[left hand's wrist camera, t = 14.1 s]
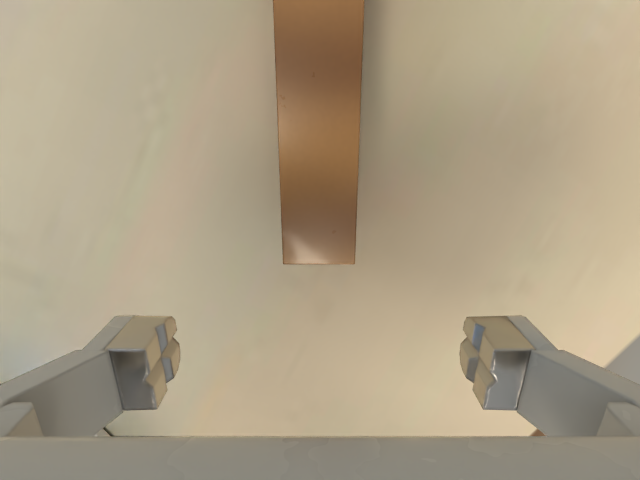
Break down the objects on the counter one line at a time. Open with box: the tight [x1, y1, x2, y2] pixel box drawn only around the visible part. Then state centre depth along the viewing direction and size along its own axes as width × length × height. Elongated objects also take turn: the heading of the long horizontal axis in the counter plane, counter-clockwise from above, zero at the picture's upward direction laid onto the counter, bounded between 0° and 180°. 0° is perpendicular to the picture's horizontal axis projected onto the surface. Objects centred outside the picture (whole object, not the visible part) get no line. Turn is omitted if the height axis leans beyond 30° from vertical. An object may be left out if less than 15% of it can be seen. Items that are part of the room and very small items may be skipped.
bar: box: [273, 0, 364, 264], centre depth 24 cm, size 24×5×8 cm, turn 0°
